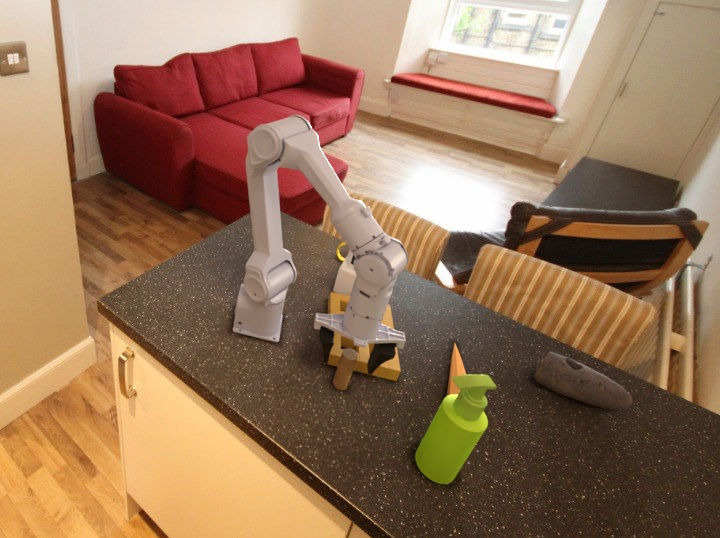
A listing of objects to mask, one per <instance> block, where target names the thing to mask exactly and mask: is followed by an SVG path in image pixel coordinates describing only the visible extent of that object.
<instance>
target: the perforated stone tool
mask: <svg viewBox="0 0 720 538" xmlns="http://www.w3.org/2000/svg"><path fill="white" fill-rule="evenodd" d="M535 370H536V371H535V373H534V381H535V382H536V383H537V384H539V385H540V386H543V387H544V388H546V389H548V390H549V391H552V392H554V393H556V394H559V395H561V396H564V397H566V398H569V399H572V400H575V401H578V402H581V403H583V404H586V405H590V406H593V407H597V408H601V409H606V410H615V411H616V410H617V411H618V410H625V409H628V408H629V407H631V405H633V400H634V399H633V398H632V396H631V394H630V393H629V392H628V391H627V390H626V389H625V388H624V387H623V386H622V385H620V384H619V383H618V382H616V381H615V380H613V379H611V378H609V377H608V376H606V375H604V374H603V373H601V372H599V371H596V370H595V369H593V368H591V367H589V366H587V365H585V364H583V363H582V362H578V361H576V360H575V359H573V358H570V357H567V356H564V355H561V354H558V353H556V352H553V351H549V352H547V354H546V355H545V358H544V359H540V361H539V364H538V367H535Z"/></svg>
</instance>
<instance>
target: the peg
mask: <svg viewBox="0 0 720 538" xmlns="http://www.w3.org/2000/svg"><path fill="white" fill-rule="evenodd" d="M357 358H358V355H357V353H356V352H355V350H354V349H350V348H346V347H345V348H343V352H342V355H341V358H340V361H339V364H338V367H337V366H336V367H337V368H336V371H335V373H334V377H333V379H332V384H333V387H334V388H336V389H337V390H339V391H345V390H347V389H348V386H349V383H350V381H351V377H352V375H353V372H354V371H353V369H354V366H355V364H356V361H357Z"/></svg>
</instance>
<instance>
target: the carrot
mask: <svg viewBox="0 0 720 538" xmlns="http://www.w3.org/2000/svg"><path fill="white" fill-rule="evenodd" d="M459 375H467V372H466V369H465V366H464V362H463V360H462V357H461V354H460V351H459V349H458V346H457V344H456V342H454V344H453V350H452V354H451V358H450V368H449V376H448V385H447V391H446V396H448V395H452V394H457V395H458V394H459V392H460V391H461V390H459V389H458V387H457V386H456V384H455V383H454V381H453V379H452V378H451V377H454V376H459Z"/></svg>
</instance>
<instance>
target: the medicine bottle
mask: <svg viewBox="0 0 720 538" xmlns="http://www.w3.org/2000/svg"><path fill="white" fill-rule="evenodd" d="M348 249H349V248H348ZM344 258H345V260H344V261H342V263H341V264H340V266H339V268H338V271H337V274H336V278H335V282H334V285H333V288H332V292H333V293H337V294H342V295H346V296H350V295H351V292H352V289H353V285H354V282H355V279H356V277H357V275H356V273H355V270H354V260H356V258H355V257H354V255H353V254H352V251H350V249H349V250H348V253H347V255H346V257H344Z"/></svg>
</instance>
